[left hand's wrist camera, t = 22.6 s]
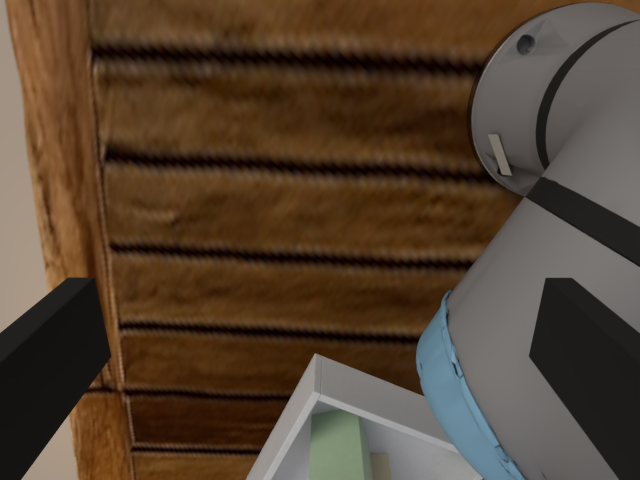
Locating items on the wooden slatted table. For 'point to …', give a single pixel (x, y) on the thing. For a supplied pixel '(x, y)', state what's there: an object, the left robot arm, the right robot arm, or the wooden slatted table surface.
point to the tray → (379, 422)
